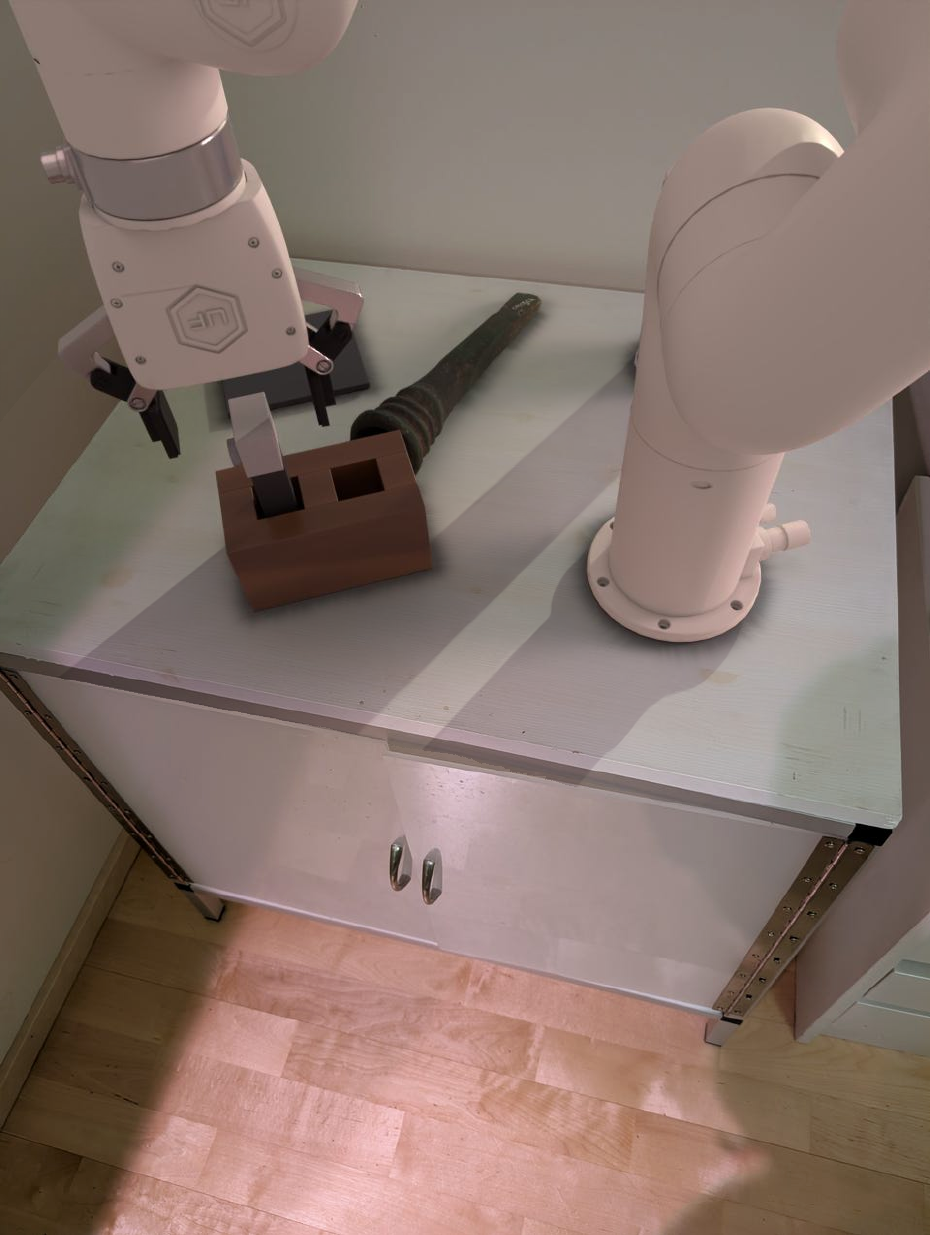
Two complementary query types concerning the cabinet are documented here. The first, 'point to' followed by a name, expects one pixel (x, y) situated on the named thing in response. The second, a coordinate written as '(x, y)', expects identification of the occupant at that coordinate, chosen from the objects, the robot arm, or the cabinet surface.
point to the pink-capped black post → (260, 454)
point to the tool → (445, 383)
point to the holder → (328, 523)
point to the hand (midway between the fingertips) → (248, 428)
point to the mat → (301, 376)
